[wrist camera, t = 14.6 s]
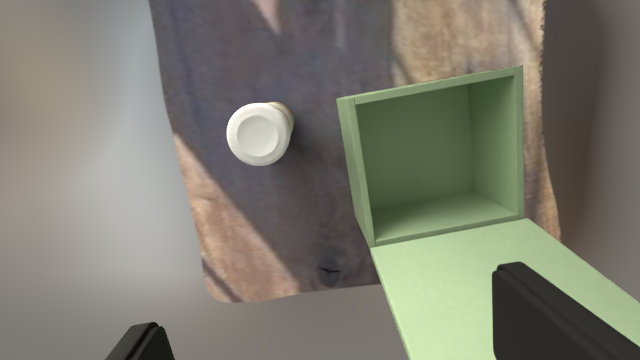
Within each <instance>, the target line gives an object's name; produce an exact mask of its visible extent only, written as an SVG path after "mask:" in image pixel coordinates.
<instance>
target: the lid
mask: <svg viewBox="0 0 640 360" xmlns="http://www.w3.org/2000/svg"><path fill="white" fill-rule="evenodd" d="M370 252H371V256H372V259H373V262H374V264H375V267H376V270H377V273H378V275H379V278H380V281H381V284H382V286H383V289H384V292H385V294H386V297H387V300H388V303H389V305H390V308H391V311H392V313H393V317H394V319H395V322H396V325H397V328H398V330H399V333H400V336H401V339H402V342H403V344H404V347H405V350H406V353H407V355H408V358H409V360H496V358H495V355H494V352H493V319H492V273H493V271H496V269H497V266H498V265H500V264H505V263H511V262H517V261H520V262H523V263H525V264H526V265H527V266H529V267H530V268H532V269H533V270H534V271H536V272H537V273H538V274H540V275H541V276H543V277H544V278H545V279H547V280H548V281H550V282H551V283H552V284H554V285H555V286H556V287H558V288H559V289H561V290H562V291H563V292H565V293H566V294H567V295H569V296H570V297H572V298H573V299H574V300H576V301H577V302H579V303H580V304H581V305H583V306H584V307H585V308H587V309H588V310H590V311H591V312H592V313H594V314H595V315H597V316H598V317H599V318H601V319H602V320H603V321H605V322H606V323H608V324H609V325H610V326H612V327H613V328H614V329H616V330H617V331H619V332H620V333H621V334H623V335H624V336H626V337H627V338H628V339H630V340H631V341H632V342H634V343H635V344H637V345H638V346H639V347H640V303H639V302H638V301H636V300H635V299H634V298H632V297H631V296H630V295H628V294H627V293H626V292H624V291H623V290H622V289H621V288H619V287H618V286H617V285H615V284H614V283H613V282H611V281H610V280H609V279H607V278H606V277H604V276H603V275H602V274H601V273H599V272H598V271H597V270H596V269H594V268H593V267H592V266H590V265H589V264H588V263H586V262H585V261H584V260H582V259H581V258H580V257H578V256H577V255H576V254H575V253H573V252H572V251H570V250H569V249H568V248H567V247H565V246H564V245H563V244H561V243H560V242H559V241H557V240H556V239H555V238H553V237H552V236H551V235H550V234H548V233H547V232H546V231H544V230H543V229H542V228H540V227H539V226H538V225H536V224H535V223H534V222H532V221H531V220H530V219H528V218H527V219H522V220H516V221H511V222H506V223H500V224H495V225H490V226H484V227H479V228H474V229H469V230H463V231H458V232H453V233H447V234H442V235H437V236H431V237H426V238H421V239H416V240H410V241H405V242H400V243H394V244H389V245H384V246H379V247H373V248H370Z"/></svg>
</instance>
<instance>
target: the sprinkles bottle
mask: <svg viewBox="0 0 640 360" xmlns="http://www.w3.org/2000/svg"><path fill="white" fill-rule="evenodd" d="M293 128H294V118H293V116H292V113H291V111H290V110H289V109H288V108H287V107H286V106H285V105H283V104H280V103H278V102H269V103H266V104H264V103H254V104H249V105H246V106H244V107H242V108H240V109H239V110H238V111H236V112H235V113H234V114H233V116H232V117H231V119H230V121H229V123H228V127H227V140H228V144H229V146H230V149H231V150H232V152H233V153H234V154H235V155H236V157H238V158H239V159H240V160H241V161H243V162H245V163H247V164H250V165H254V166H265V165H269V164H272V163H274V162H275V161H277V160H278V159H279V158H280V157H281V156H282V155H283V154H284V153H285V151H286V149H287V147H288V145H289V141H290V135H291V133H292V130H293Z"/></svg>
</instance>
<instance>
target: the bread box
mask: <svg viewBox="0 0 640 360" xmlns="http://www.w3.org/2000/svg"><path fill="white" fill-rule="evenodd" d="M336 101H337V107H338V113H339V119H340V126H341V132H342V138H343V144H344V150H345V156H346V163H347V169H348V175H349V181H350V187H351V193H352V200H353V206H354V212H355V217H356V219H357V221H358V224H359V226H360V228H361V230H362V233H363V235H364V237H365V240H366V242H367V244H368V246H369V248H373V247H379V246H384V245H389V244H394V243H400V242H405V241H410V240H416V239H421V238H426V237H431V236H437V235H442V234H447V233H453V232H458V231H463V230H469V229H474V228H479V227H484V226H490V225H495V224H500V223H506V222H511V221H516V220H522V219H524V135H523V65H521V66H514V67H508V68H502V69H495V70H489V71H483V72H476V73H470V74H465V75H459V76H454V77H449V78H443V79H438V80H433V81H427V82H422V83H417V84H411V85H406V86H401V87H395V88H390V89H385V90H379V91H374V92H369V93H364V94H358V95H353V96H348V97H342V98H337V99H336Z"/></svg>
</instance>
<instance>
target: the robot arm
mask: <svg viewBox="0 0 640 360" xmlns="http://www.w3.org/2000/svg"><path fill="white" fill-rule="evenodd" d="M492 319H493V352H494V355H495V358H496V360H640V347H639V346H638V345H637V344H635V343H634V342H632V341H631V340H630V339H628V338H627V337H626V336H624V335H623V334H621V333H620V332H619V331H617V330H616V329H614V328H613V327H612V326H610V325H609V324H608V323H606V322H605V321H603V320H602V319H601V318H599V317H598V316H597V315H595V314H594V313H592V312H591V311H590V310H588V309H587V308H585V307H584V306H583V305H581V304H580V303H579V302H577V301H576V300H574V299H573V298H572V297H570V296H569V295H567V294H566V293H565V292H563V291H562V290H561V289H559V288H558V287H556V286H555V285H554V284H552V283H551V282H550V281H548V280H547V279H545V278H544V277H543V276H541V275H540V274H538V273H537V272H536V271H534V270H533V269H532V268H530V267H529V266H527V265H526V264H525V263H523V262H520V261H517V262H511V263H505V264H500V265H498V266H497V269H496V271H493V273H492ZM105 360H175V359H174V356H173V353H172V350H171V347H170V344H169V341H168V338H167V335H166V332H165V329H164V328H163V327H161V326H160V327H159V325H158V324H157V323H155V322H151V323H145V324H139V325H134V326H131V327H130V328H129V329H128V331H127V332H126V333H125V335H124V336H123V337H122V338H121V340H120V341H119V342H118V344H117V345H116V346H115V347H114V349H113V350H112V351H111V353H110V354H109V355H108V356H107V358H106V359H105Z"/></svg>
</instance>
